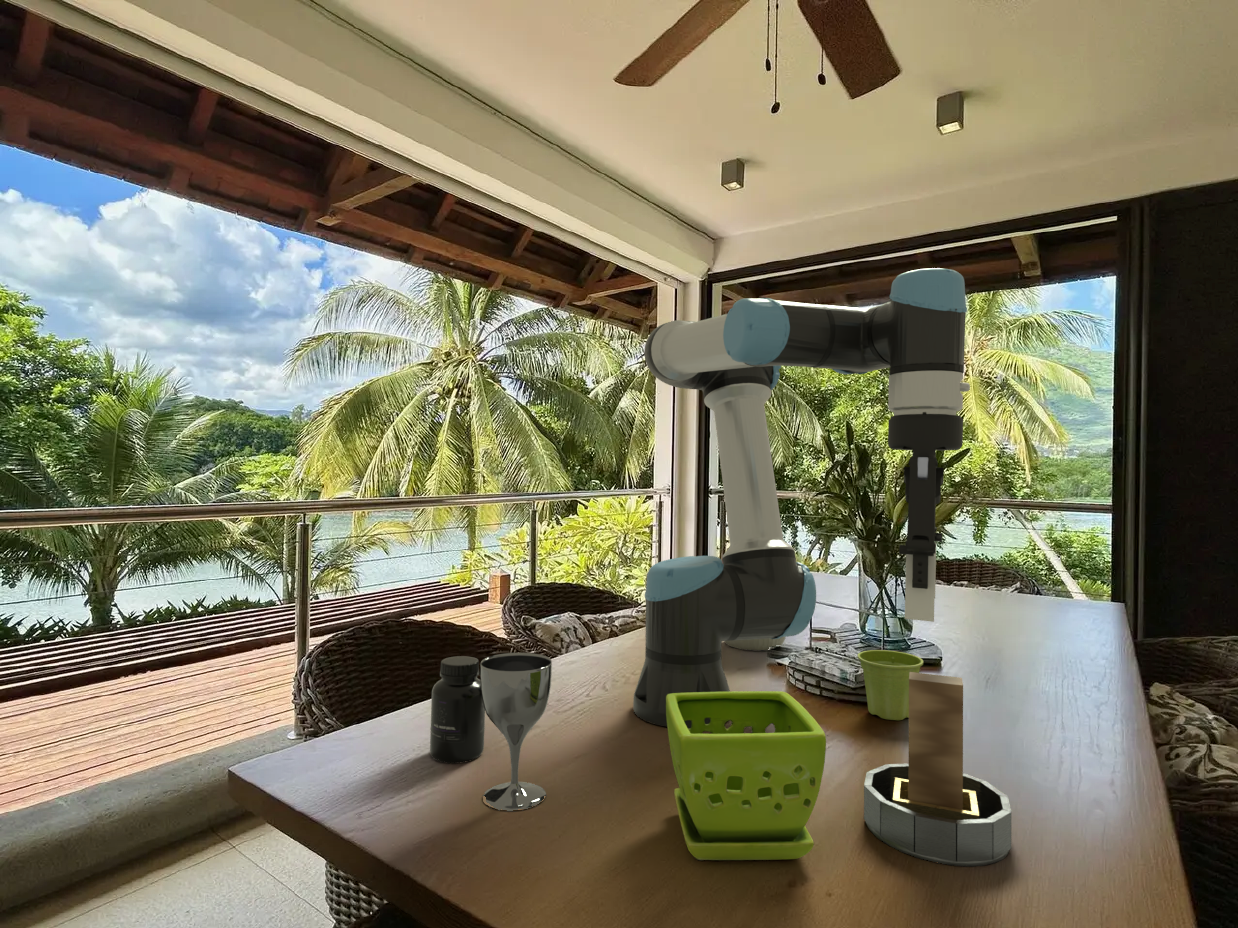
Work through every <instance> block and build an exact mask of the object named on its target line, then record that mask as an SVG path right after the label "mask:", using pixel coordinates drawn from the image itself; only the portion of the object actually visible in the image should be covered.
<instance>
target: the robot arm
mask: <svg viewBox="0 0 1238 928" xmlns="http://www.w3.org/2000/svg"><path fill="white" fill-rule="evenodd" d="M965 285H966V283H965V278H964V276H963V275H962V274H961V273H959V272H958V271H956V270H954V269H948V268H940V267H937V268H935V267H934V268H933V267H932V268H920V269H914V270H910V271H906V272H903V273H900V274H898V275H897V276H896V277H895V278H894V279H893V281H892V283H891V287H890V294H889V300H890V301H887V302H885V303H883V304H879V305H876V306H873V307H865V308H864V307H863V308H861V307H860V308H859V307H851V306H843V305H842V306H840V305H828V304H818V303H816V304H815V303H806V302H805V303H804V302H795V301H789V300H788V301H786V300H776V299H773V298H770V297H758V298H752V297H751V298H750V297H749V298H746V297H745V298H741V299H738V300H736V301H735V302H734V303H733V305H732V307H731V308H730V309H729V311H728V312H727V313H725V314H721V315H718V316H714V317H710V318H705V319H702V320H697V321H692V320H680V319H679V320H677V319H676V320H672V321H668V322H665V323H663V324H660V325H658V326H657V327H656V328H654V329H653V330H652V331H651V332H650V334H649V336H648V337H647V339H646V342H645V345H644V349H643V350H644V360H645V363H646V366H647V368H648V369H649V371H650V372H651V374H652V375H653V376H654V377H655V378H656V379H657V380H659V381H660V382H662V383H664V384H665V385H669V386H671V387H675V388H679V389H685V390H697V391H698V390H700V391H702V393H703V402H704V405H705V406H706V407H707V408H709V409H710V410H711V411H713V413H714V419H715V421H714V422H715V428H716V429H715V430H716V437H717V447H718V454H719V463H720V470H721V471H720V472H721V481H722V485H723V494H724V495H723V496H724V504H725V511H726V512H725V513H726V522H727V530H728V536H729V537H728V538H729V546H728V548H727V550H726V551H725V552H724V554H722V559H721V558H720V557H718V556H714V555H697V556H694V555H692V556H691V555H690V556H681V557H675V558H670V559H666V560H662V561H659V562H656V563H655V564H653V565H652V566H651V567H649V569H648V571H647V575H646V587H645V593H644V598H645V652H644V653H645V654H644V655H645V657H644V663H643V667H642V669H641V672H640V675H639V679H638V681H637V684H636V687H635V690H634V694H633V698H632V701H633V702H632V704H633V705H632V707H633V709H632V710H634V711H633V713H634V712H635V713H634V715H635V714H636V715H637V716H636V717H637V718H639V717H640V718H639V719H640V720H642V719H643V720H642V721H644V720H645V722H647V723H650V724H653V725H657V726H661V727H667V718H666V696H667V695H668V694H672V693H690V692H730V686H729V684H728V680H727V677H726V673H725V670H724V667H723V664H722V642H724V641H733V640H750V639H768V638H770V639H779V638H781V637H785V638H787V637H795V636H797V635H799V634H801V633H803V632H804V631H805V630H806V629H807V627H808V626H809V624H810V621H811V619H812V618H813V616H814V613H815V610H816V604H817V585H816V581H815V576H814V575H813V573H812V572H810V571H811V570H810V569H809V567H808V566H807V565H806V564H803V563H802V562H798V561H797V558H796V552H795V548H794V547H792V546H791V545H790V544H788V543H787V542H786V541H785V540H784V535H783V530H782V522H781V521H782V520H781V515H780V508H779V500H778V499H779V498H778V494H777V493H778V492H777V486H776V480H775V474H774V472H775V471H774V465H773V459H772V452H771V445H770V437H769V431H768V424H767V417H766V411H765V404H766V403H767V402H768V401H769V399H770V398H771V396H772V390H774V389H775V387H776V386H777V384H778V382H779V380H780V376H781V373H780V371H779V370H780V369H781V368H782V366H783V367H785V366H786V367H807V368H813V369H829V370H832V371H834V372H836V373H837V374H839V375H840V374H841V375H856V374H857V375H859V376H860V375H865V374H868V373H869V372H870V373H871V372H873V371H879V370H884V369H889V374H888V396H887V397H888V400H887V401H888V403H887V404H888V405H887V409H888V410H889V412H892V413H893V415H892V416H890V418H889V419H888V421H887V422H888V425H887V426H888V427H887V428H888V430H887V435H888V436H887V446H888V448H889V449H891V450H898V451H912V454H911V455H912V456H910V458H909V460H908V466H903V482H904V483H905V492H904V493H905V494H904V495H905V501H906V503H908V506H907V507H908V509H907V529H906V530H907V533H906V541H905V542H904V543H905V544H899V545H898V547H899V548H898V550H899V551H898V552H899V555H905V589H904V591H905V596H904V619H905V620H912V621H921V622H922V621H924V622H932V623H934V622H935V599H936V579H937V578H936V572H937V571H936V570H937V569H936V567H937V542H940V543H942V542H943V533H942V532H937V527H936V511H937V510H936V506H937V505H938V504H940V503H941V496H942V495H941V493H942V492H941V491H942V490H941V487H942V485H943V484H944V474H945V473H944V470H945V467H940V466H939V467H938V464H939V462H938V461H939V460H937V459H938V458H937V457H936V455H937V453H936V452H937V451H959V450H961V449H962V447H963V440H964V438H963V437H964V436H963V435H964V434H963V433H964V418H962V416H960V415H957V412H960V411H962V410H963V408H964V407H963V406H964V394H962V392H964V393H965V392H966V393H967V392H969V391H970V390H971V385H970V383H969V382H962V381H963V380H964V373H965V372H964V371H965V340H966V337H965V336H966V318H967V317H966V316H967V315H966V313H967V312H968V307H967V302H966V301H967V300H966V286H965ZM722 561H723V563H722ZM709 723H710V718H706V719H705V724H709ZM685 724H686V726H687V728H688V729H690V728H691V721H690V720H687V721H685Z"/></svg>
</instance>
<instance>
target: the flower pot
mask: <svg viewBox="0 0 1238 928" xmlns="http://www.w3.org/2000/svg"><path fill="white" fill-rule="evenodd" d="M666 718H667V734H668V735H667V736H668V743H669V749H670V754H671V756H670V757H671V760H672V761H671V762H672V766H673V770H674V771H673V772H674V774H675V777H676V780H677V784H678V788H674V792H673V793H674V799H675V804H676V808H677V814H678V817H679V822H680V826H681V830H682V834H683V838H684V842H685V844H686V846H687V850H688V851H689V852H690V854H691V855H692V856H693V857H694V859H695V860H697V861H704V860H705V861H754V860H755V861H762V860H763V861H766V860H767V861H769V860H770V861H773V860H776V861H777V860H796V859H797V860H799V859H800V858H801V859H802V857H804V856H806V855H807V854H809V853H810V852H811V851H812V849H813V848H814V845H815V843H814V840H813V838H812V836H811V834H810V832H809V830H808V828H807V827H806V824H807V823H808V821H809V820H810V817H811V815H812V813H813V811H814V808H815V805H816V802H817V800H818V796H819V792H820V789H821V783H822V779H823V774H824V769H825V763H826V762H825V760H826V751H827V749H826V748H827V737H826V736H827V735H826V733H825V731H824V730H823V728H822V727H821V726H820V724H819V723H818V722H817V720H816V719H815V718H814V717H813V716H812V714H810V713H809V711H808V710H807V709H806V708H805V707H804V706H803V705H802V704H801V703H800V702H799V701H797V700H796V699H795V698H794V697H793V696H791V694H789V693H787V692H786V691H780V690H776V691H773V690H771V691H770V690H764V691H763V690H761V691H760V690H759V691H757V690H756V691H755V690H750V691H749V690H747V691H744V690H743V691H740V690H739V691H735V690H734V691H730V692H690V693H672V694H668V695H667V696H666ZM706 718H710V723H709V724H705V719H706ZM687 720H690V721H691V728H687V726H686V724H685V721H687ZM729 721H730V722H731V725H730V726H729V727H728V728H726V725H725V724H726V723H727V722H729ZM770 725H773V727H774V732H767V731H766V729H767V728H768V727H769V726H770ZM749 727H750V728H751V733H747V732H745V729H746V728H749ZM704 732H708V733H704Z"/></svg>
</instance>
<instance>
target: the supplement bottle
mask: <svg viewBox="0 0 1238 928" xmlns="http://www.w3.org/2000/svg"><path fill="white" fill-rule="evenodd" d="M479 665H480V662H479V659H478V658H476V657H474V656H465V655H461V656H460V655H457V656H451V657H446V658H443V659H441V661H440V671H439V677H441V679H439V680H438V681H436V683H434V685H433V687H432V689H431V702H430V703H431V706H430V707H431V708H430V709H431V711H430V735H429V736H430V737H429V738H430V739H429V753H430V755H431V757H432V758H433V759H434V760H435V761H437V760H438V762H440V761H441V763H444V762H447V763H446V764H461V763H460V762H463V763H466V762H465V761H468V762H471V761H474V760H475V758H476V759H477V757H478V758H479V757H480V756H481V755H482V754H483V752H484V749H485V730H486V729H485V728H486V727H485V725H486V723H485V722H486V720H485V719H486V711H485V708H484V704H483V699H482V693H481V684H480V678H478V676H480V669H479V667H480V666H479ZM473 759H474V760H473ZM470 760H471V761H470Z"/></svg>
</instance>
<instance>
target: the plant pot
mask: <svg viewBox="0 0 1238 928" xmlns="http://www.w3.org/2000/svg"><path fill="white" fill-rule="evenodd" d="M857 659H858V660H859V662H860V666H861V670H862V672H863V679H864V686H865V693H866V702H867V710H868V712H869V714H870V715H873V716H875V715H876V716H878V717H879V718H880V719H883V720H890V721H903V720H904V719H906V718H908V719H909V673H910V672H916V673H920V670H921V667H922V666H923V665H924V660H923V659H922V657H919V656H917V655H915V654H912V653H911V654H910V653H907V652H904V651H903V652H902V651H894V650H886V649H885V650H883V649H874V650H873V649H872V650H870V649H869V650H865V651H861V652H859V653H857Z"/></svg>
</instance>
